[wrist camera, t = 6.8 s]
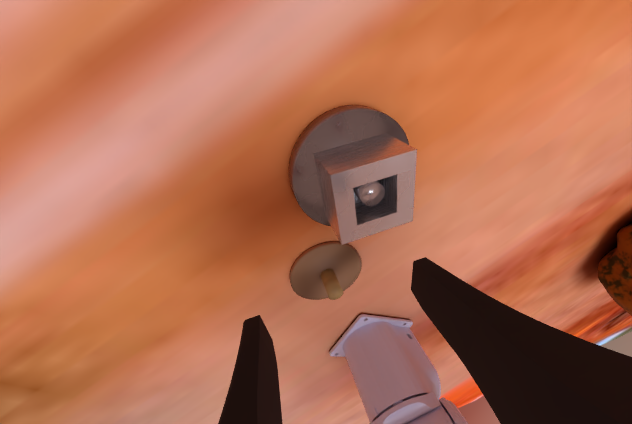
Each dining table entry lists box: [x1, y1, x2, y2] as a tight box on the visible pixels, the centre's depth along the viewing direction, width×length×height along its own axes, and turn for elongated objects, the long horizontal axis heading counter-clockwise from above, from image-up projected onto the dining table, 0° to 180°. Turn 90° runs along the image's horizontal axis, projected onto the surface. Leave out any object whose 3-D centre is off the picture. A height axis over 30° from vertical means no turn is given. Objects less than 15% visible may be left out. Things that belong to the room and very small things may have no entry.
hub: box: [289, 105, 409, 226], centre depth 18 cm, size 9×9×4 cm
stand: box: [290, 241, 362, 300], centre depth 24 cm, size 7×7×3 cm
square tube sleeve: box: [313, 133, 417, 245], centre depth 17 cm, size 5×5×4 cm
